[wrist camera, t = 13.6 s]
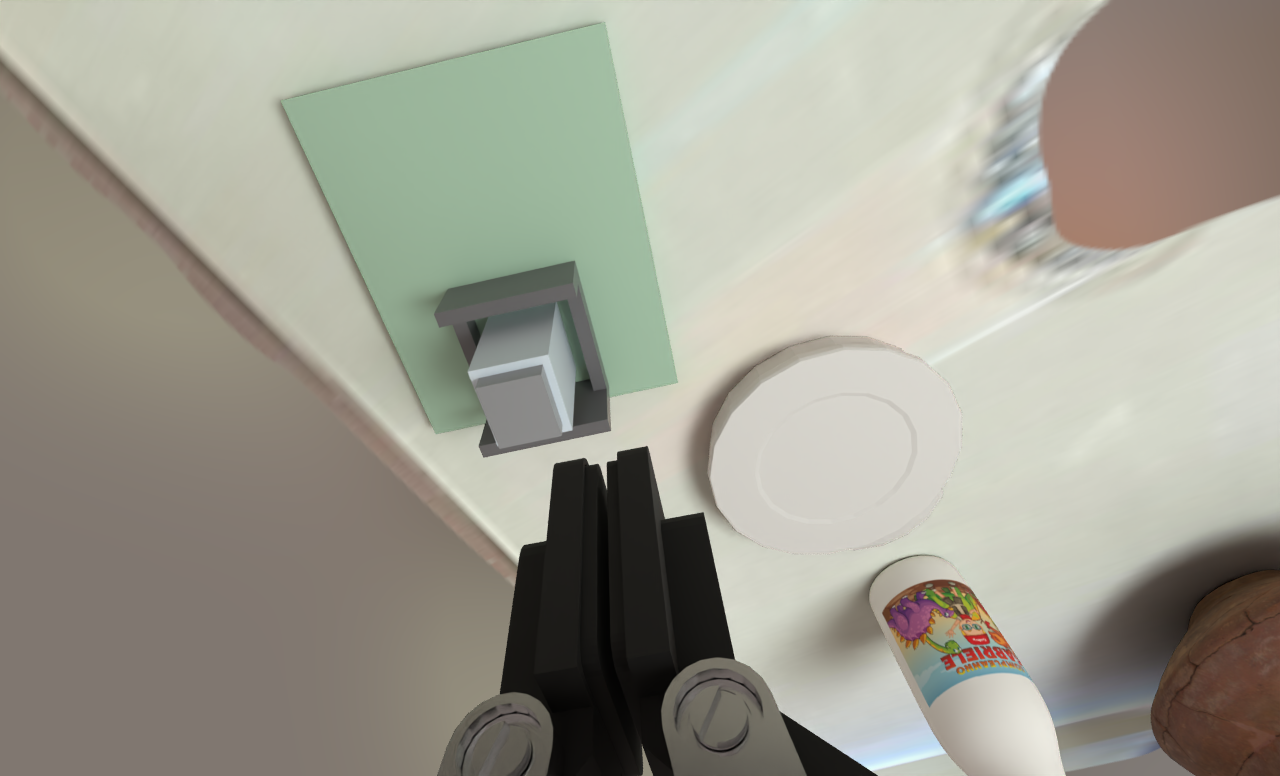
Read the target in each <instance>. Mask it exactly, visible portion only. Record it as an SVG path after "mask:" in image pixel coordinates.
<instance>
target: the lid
mask: <svg viewBox="0 0 1280 776" xmlns="http://www.w3.org/2000/svg"><path fill="white" fill-rule="evenodd" d="M961 448H962V412H961V410H960V407H959V405H958V403H957V401H956V398H955V396H954V394H953V391H952V389H951V387H950V385H949V383H948V382H947V381H946V380H945V379H944V378H942V377H941V376H940V375H939V374H938V373H937V372H936V371H934V370H933V369H932V368H931V367H930V366H929V365H928V364H927V363H925V362H924V361H923V360H922V359H921V358H920V357H917V356H914V355H911V354H908V353H905V352H904V351H903V350H902V349H901V348H898V347H895V346H893V345H890V344H887V343H884V342H881V341H878V340H876V339H873V338H870V337H858V336H827V337H823V338H820V339H816V340H812V341H808V342H804V343H801V344H797V345H793V346H790V347H788V348H786V349H784V350H783V351H781V352H779V353H778V354H776V355H774V356H772V357H771V358H769V359H767V360H765V361H764V362H762V363H760V364H758V365H757V366H755V367H754V368H753V369H752V370H751V371H750V372H749V373H748V374H747V375H746V376H745V377H744V378H743V379H742V380H741V381H740V382H739V383H738V384H737V385H736V386H735V387H734V388H733V389H732V390H731V391H730V392H729V393H728V395H727V397H726V399H725V401H724V403H723V405H722V407H721V409H720V411H719V412H718V414H717V416H716V418H715V420H714V422H713V425H712V432H711V440H710V447H709V463H708V470H707V474H708V478H709V481H710V485H711V489H712V493H713V496H714V500H715V504H716V506H717V508H718V509H719V510H720V512H721V513H722V514H723V515H724V517H725V518H726V519H727V520H728V522H729V523H730V524H731V526H732V527H733V528H734V529H735V530H736V531H738V532H739V533H741V534H743V535H744V536H746V537H748V538H749V539H751V540H752V541H754V542H756V543H757V544H759V545H761V546H763V547H767V548H771V549H775V550H779V551H783V552H787V553H791V554H832V553H836V552H840V551H844V550H849V549H851V550H860V549H865V548H871V547H877V546H882V545H885V544H887V543H889V542H891V541H894V540H896V539H898V538H900V537H903V536H905V535H907V534H909V533H910V532H911V531H912V530H914V529H915V528H916V527H917V526H918V525H920V524H921V523H922V522H923V521H925V520H926V519H927V518H928V517H929V516H930V514H931V513H932V511H933V510H934V508H935V507H936V505H937V504H938V502H939V501H940V499H941V498H942V496H943V489H942V488H943V487H944V485H945V484H946V483H947V482H948V480H949V479H950V477H951V474H952V472H953V469H954V466H955V464H956V461H957V459H958V456H959V454H960V451H961Z"/></svg>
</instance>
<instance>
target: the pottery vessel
mask: <svg viewBox="0 0 1280 776" xmlns="http://www.w3.org/2000/svg"><path fill="white" fill-rule="evenodd" d="M1151 724H1152V730H1153V733H1154V736H1155V738H1156V740H1157V742H1158V744H1159V745H1160V747H1161V748H1162V749H1163V751H1164V752H1165V753H1166V754H1167V755H1168V756H1169V757H1170V758H1171V759H1173V760H1174V761H1175V762H1177V763H1178V764H1179V765H1181V766H1182V767H1184V768H1185V769H1186V770H1188V771H1189V772H1191V773H1192V774H1194V775H1195V776H1280V570H1265V571H1259V572H1255V573H1252V574H1248V575H1245V576H1242V577H1240V578H1238V579H1236V580H1233V581H1231V582H1228V583H1226V584H1224V585H1222V586H1221V587H1219V588H1217V589H1216V590H1214V591H1213V592H1211V593H1210V594H1208V595H1207V596H1205V597H1204V598H1203V599H1202V600H1201V601H1200V602H1199V603H1198V604H1197V606H1196V607H1195V609H1194V612H1193V614H1192V616H1191V618H1190V622H1189V626H1188V631H1187V632H1186V634H1185V635H1184V637H1183V638H1182V640H1181V642H1180V643H1179V645H1178V646H1177V648H1176V649H1175V651H1174V652H1173V654H1172V656H1171V658H1170V660H1169V662H1168V665H1167V667H1166V669H1165V671H1164V673H1163V675H1162V678H1161V681H1160V684H1159V687H1158V690H1157V693H1156V695H1155V698H1154V701H1153V704H1152V708H1151Z"/></svg>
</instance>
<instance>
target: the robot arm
mask: <svg viewBox="0 0 1280 776" xmlns="http://www.w3.org/2000/svg"><path fill="white" fill-rule="evenodd" d="M642 746H643V748H644V751H645V754H646V757H647V760H648V762H649V765H650V768H651V771H652V773H653V776H878V775H876V774H875V773H873V772H872V771H870V770H868V769H867V768H865V767H864V766H862V765H861V764H859V763H858V762H856V761H855V760H853V759H852V758H850V757H849V756H847V755H846V754H844V753H843V752H841V751H839V750H838V749H836V748H835V747H833V746H832V745H830V744H829V743H827V742H826V741H824V740H823V739H821V738H820V737H818V736H817V735H815V734H814V733H812V732H810V731H809V730H807V729H806V728H804V727H803V726H801V725H800V724H798V723H797V722H795V721H794V720H792V719H791V718H789V717H788V716H786V715H785V714H783V713H781V712H780V711H779V709H778V707H777V704H776V702H775V699H774V697H773V695H772V692H771V691H770V689H769V688H768V686H767V684H766V683H765V681H764V680H763V678H762V677H761V676H760V675H759V674H758V673H756V672H755V671H754V670H753V669H752V668H751V667H749V666H747V665H745V664H743V663H741V662H738V661H736V660H735V657H734V653H733V648H732V643H731V639H730V634H729V629H728V625H727V620H726V615H725V610H724V606H723V601H722V596H721V592H720V587H719V582H718V578H717V573H716V568H715V563H714V559H713V554H712V549H711V545H710V540H709V535H708V531H707V526H706V521H705V517H704V512H702V513H697V514H691V515H686V516H681V517H675V518H670V519H665V517H664V513H663V509H662V505H661V500H660V496H659V492H658V487H657V483H656V479H655V474H654V470H653V466H652V462H651V457H650V453H649V449H648V447H647V446H646V447H640V448H635V449H630V450H625V451H619V452H618V453H617V460H616V461H610V462H607V489H606V486H605V482H604V479H603V475H602V472H601V469H600V466H599V464H595V465H589V464H588V462H587V460H586V459H585V458H582V459H577V460H572V461H567V462H561V463H556V464H555V465H554V468H553V478H552V488H551V499H550V509H549V520H548V530H547V540H546V541H544V542H539V543H533V544H528V545H524V546H523V547H522V549H521V552H520V556H519V563H518V570H517V577H516V584H515V591H514V598H513V605H512V612H511V620H510V626H509V633H508V640H507V648H506V654H505V661H504V668H503V675H502V682H501V689H500V695H496V696H495V697H492V698H490V699H488V700H486V701H484V702H482V703H481V704H479V705H478V706H477V707H476V708H474V709H473V710H472V711H471V712H470V713H468V714H467V715H466V716H465V718H464V719H463V720H462V721H461V723H460V724H459V725H458V726H457V728H456V729H455V731H454V733H453V735H452V737H451V739H450V741H449V743H448V745H447V748H446V751H445V754H444V757H443V760H442V763H441V765H440V768H439V772H438V774H437V776H641V775H642V774H643V757H642Z"/></svg>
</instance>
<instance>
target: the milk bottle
mask: <svg viewBox="0 0 1280 776" xmlns="http://www.w3.org/2000/svg"><path fill="white" fill-rule="evenodd" d="M869 602H870V606H871V608H872V610H873V613H874V615H875V617H876V619H877V621H878V623H879V625H880V627H881V629H882V632H883V634H884V636H885V638H886V640H887V642H888V644H889V646H890V648H891V650H892V652H893V654H894V656H895V658H896V660H897V662H898V665H899V667H900V669H901V671H902V673H903V675H904V677H905V679H906V681H907V683H908V685H909V687H910V689H911V691H912V693H913V695H914V697H915V699H916V701H917V703H918V705H919V707H920V709H921V711H922V713H923V715H924V717H925V718H926V720H927V722H928V724H929V726H930V728H931V730H932V732H933V733H934V735H935V737H936V738H937V740H938V741H939V743H940V744H941V746H942V747H943V749H944V750H945V751H946V753H947V754H948V755H949V756H950V758H951V759H952V760H953V761H954V762H955V763H956V764H957V765H958V766H959V767H960V768H961V769H962V770H963V771H964V772H965V773H966V774H967V775H968V776H1066V775H1065V772H1064V769H1063V765H1062V761H1061V757H1060V752H1059V746H1058V740H1057V736H1056V731H1055V727H1054V724H1053V721H1052V718H1051V715H1050V713H1049V710H1048V708H1047V706H1046V704H1045V702H1044V700H1043V698H1042V696H1041V694H1040V692H1039V691H1038V689H1037V688H1036V686H1035V684H1034V683H1033V681H1032V680H1031V678H1030V676H1029V675H1028V673H1027V672H1026V670H1025V668H1024V667H1023V665H1022V664H1021V662H1020V661H1019V659H1018V658H1017V656H1016V655H1015V653H1014V652H1013V650H1012V649H1011V647H1010V646H1009V644H1008V643H1007V641H1006V640H1005V638H1004V637H1003V635H1002V634H1001V632H1000V631H999V630H998V628H997V627H996V625H995V624H994V622H993V621H992V619H991V618H990V616H989V615H988V613H987V612H986V610H985V609H984V608H983V606H982V605H981V603H980V602H979V600H978V599H977V597H976V596H975V594H974V593H973V591H972V590H971V588H970V587H969V586H968V584H967V583H966V581H965V580H964V578H963V577H962V576H961V574H960V573H959V572H958V570H957V569H956V568H955V567H954V566H953V565H952V564H951V563H949V562H948V561H946V560H944V559H942V558H939V557H935V556H915V557H910V558H906V559H903V560H901V561H898V562H896V563H894V564H892V565H891V566H889V567H887V568H886V569H885V570H884V571H882V572H881V573H880V574H879V575H878V576H877V577H876V579H875V580H874V582H873V583H872V586H871V588H870V594H869Z"/></svg>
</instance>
